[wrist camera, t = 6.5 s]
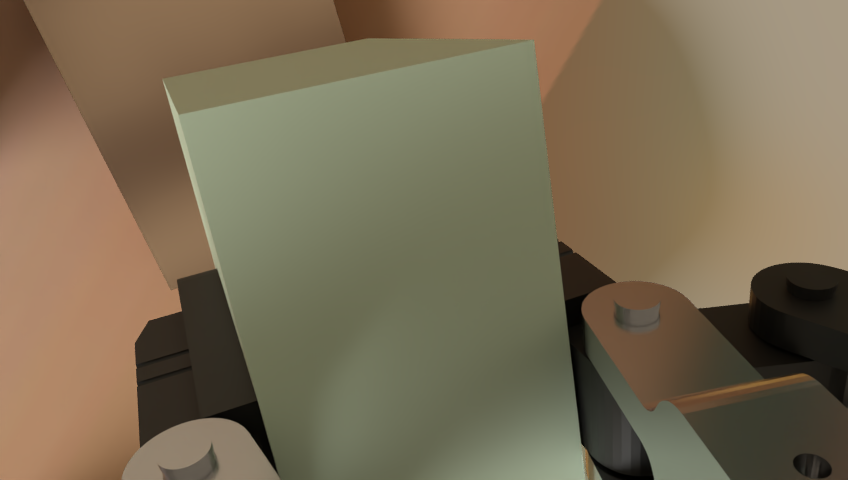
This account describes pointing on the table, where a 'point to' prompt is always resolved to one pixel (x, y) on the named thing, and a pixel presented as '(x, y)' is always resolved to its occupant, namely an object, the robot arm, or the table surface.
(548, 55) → the table surface
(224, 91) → the sage brick
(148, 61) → the walnut slab
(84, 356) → the table surface
